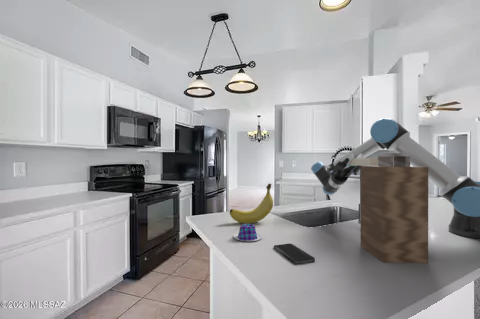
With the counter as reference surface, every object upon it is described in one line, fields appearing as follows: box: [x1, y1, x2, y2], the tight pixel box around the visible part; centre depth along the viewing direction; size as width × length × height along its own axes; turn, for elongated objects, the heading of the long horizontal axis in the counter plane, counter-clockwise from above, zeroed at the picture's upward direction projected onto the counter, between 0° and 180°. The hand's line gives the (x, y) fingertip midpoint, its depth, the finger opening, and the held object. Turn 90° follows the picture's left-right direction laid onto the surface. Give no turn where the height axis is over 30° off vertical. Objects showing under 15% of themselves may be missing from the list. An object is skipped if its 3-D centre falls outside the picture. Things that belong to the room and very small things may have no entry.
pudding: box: [232, 223, 263, 242], centre depth 96 cm, size 12×12×5 cm
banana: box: [229, 183, 274, 224], centre depth 119 cm, size 23×6×20 cm, turn 101°
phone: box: [273, 243, 316, 266], centre depth 79 cm, size 8×1×15 cm
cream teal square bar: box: [346, 157, 378, 166], centre depth 102 cm, size 3×22×3 cm, turn 0°
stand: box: [360, 152, 429, 264], centre depth 80 cm, size 14×14×34 cm
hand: (357, 155), depth 104 cm, fingers closed on cream teal square bar, 3 cm apart
